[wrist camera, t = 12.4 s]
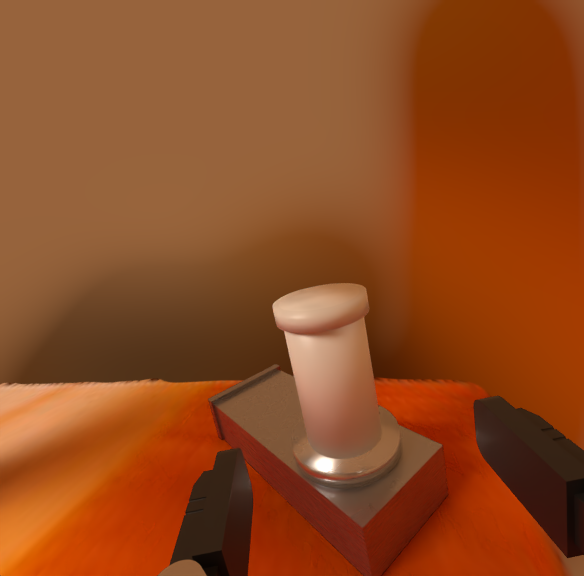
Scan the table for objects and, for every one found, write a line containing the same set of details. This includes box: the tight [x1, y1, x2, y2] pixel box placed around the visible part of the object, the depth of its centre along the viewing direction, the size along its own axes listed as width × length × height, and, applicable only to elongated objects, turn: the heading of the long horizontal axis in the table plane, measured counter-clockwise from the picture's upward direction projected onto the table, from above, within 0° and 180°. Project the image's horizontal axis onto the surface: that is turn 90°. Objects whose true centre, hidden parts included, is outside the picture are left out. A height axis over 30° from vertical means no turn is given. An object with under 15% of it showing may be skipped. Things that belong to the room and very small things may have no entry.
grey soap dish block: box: [208, 364, 448, 576], centre depth 28 cm, size 20×8×5 cm, turn 37°
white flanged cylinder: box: [273, 283, 382, 459], centre depth 23 cm, size 6×6×10 cm
